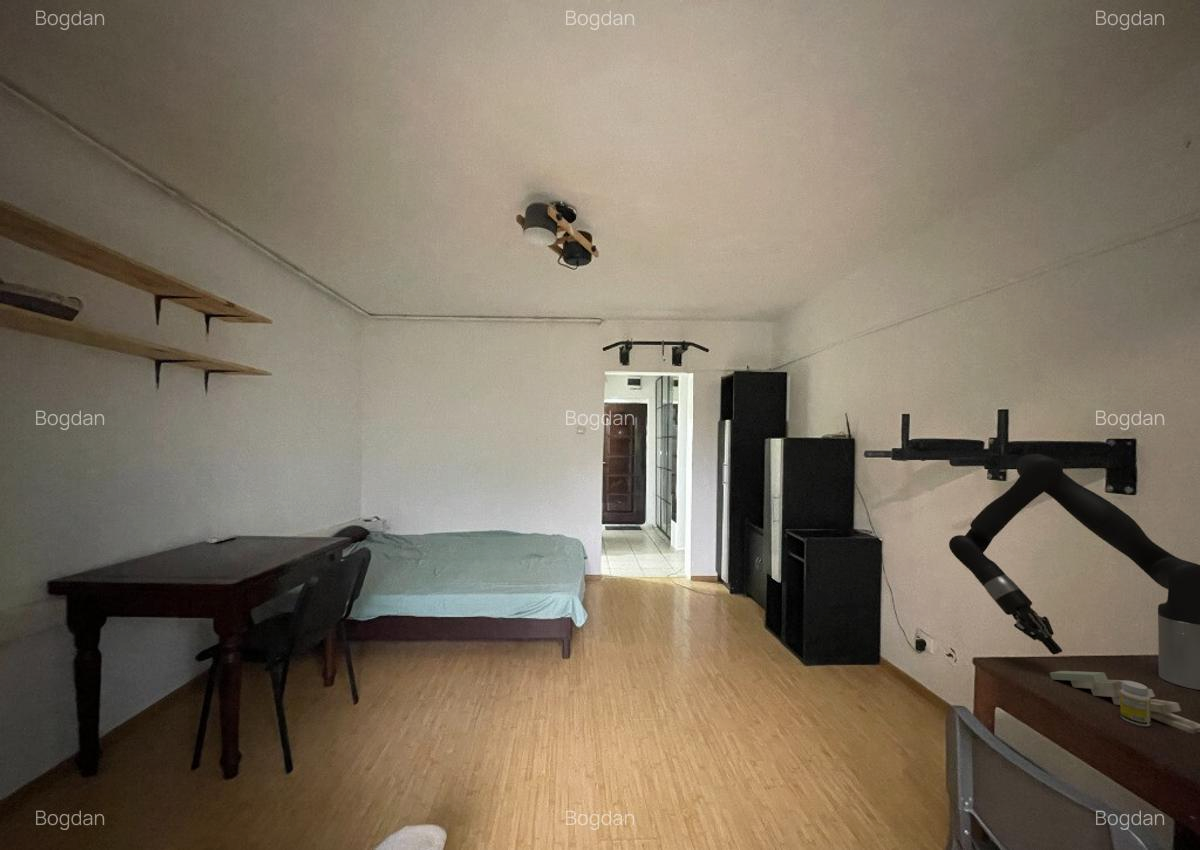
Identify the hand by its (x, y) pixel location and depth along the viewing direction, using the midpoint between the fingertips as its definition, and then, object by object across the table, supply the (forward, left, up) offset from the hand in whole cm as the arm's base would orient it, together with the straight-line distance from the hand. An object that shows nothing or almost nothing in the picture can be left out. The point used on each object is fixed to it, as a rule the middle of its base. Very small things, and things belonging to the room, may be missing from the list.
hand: (1058, 653), depth 133 cm
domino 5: (0, +16, -7) cm, 17 cm away
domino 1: (0, 0, -6) cm, 6 cm away
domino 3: (0, +9, -6) cm, 11 cm away
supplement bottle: (+9, +18, -7) cm, 22 cm away
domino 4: (+1, +13, -6) cm, 14 cm away
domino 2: (0, +4, -6) cm, 7 cm away
